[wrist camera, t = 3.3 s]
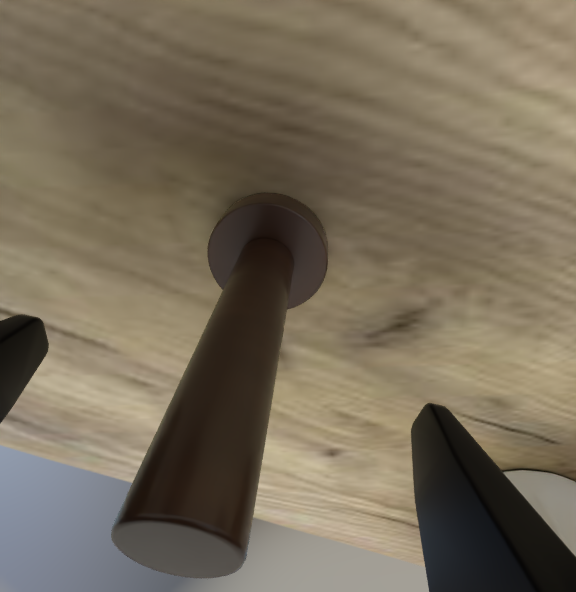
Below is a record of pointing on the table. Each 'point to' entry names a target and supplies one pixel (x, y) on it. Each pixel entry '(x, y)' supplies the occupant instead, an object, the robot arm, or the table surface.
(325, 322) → the table surface
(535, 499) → the cup
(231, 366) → the brown peg stand
